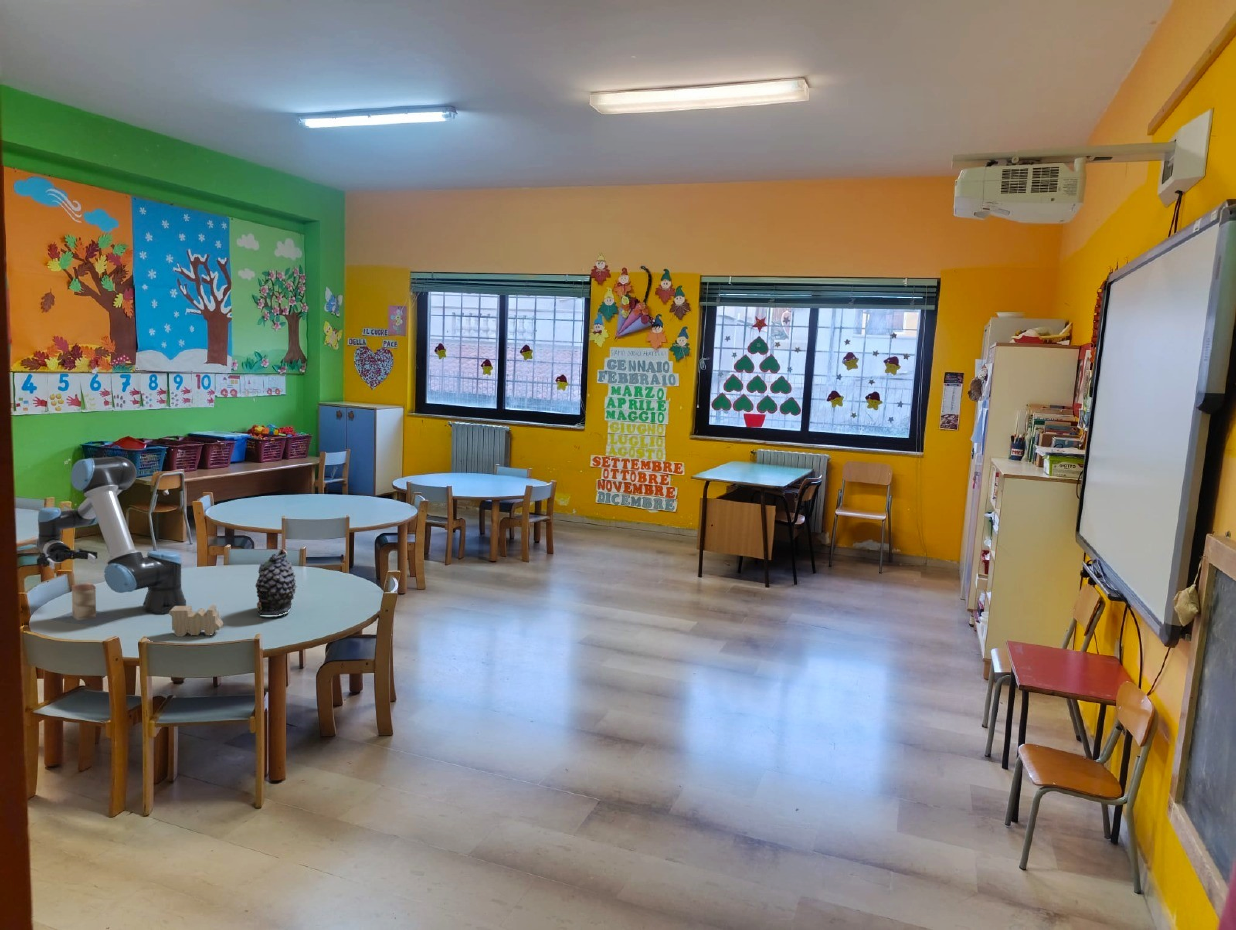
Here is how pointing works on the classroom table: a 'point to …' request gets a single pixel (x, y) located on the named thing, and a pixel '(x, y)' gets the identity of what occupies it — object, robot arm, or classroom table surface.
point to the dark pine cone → (275, 585)
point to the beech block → (83, 601)
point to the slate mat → (96, 621)
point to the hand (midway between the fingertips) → (74, 563)
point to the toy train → (195, 620)
